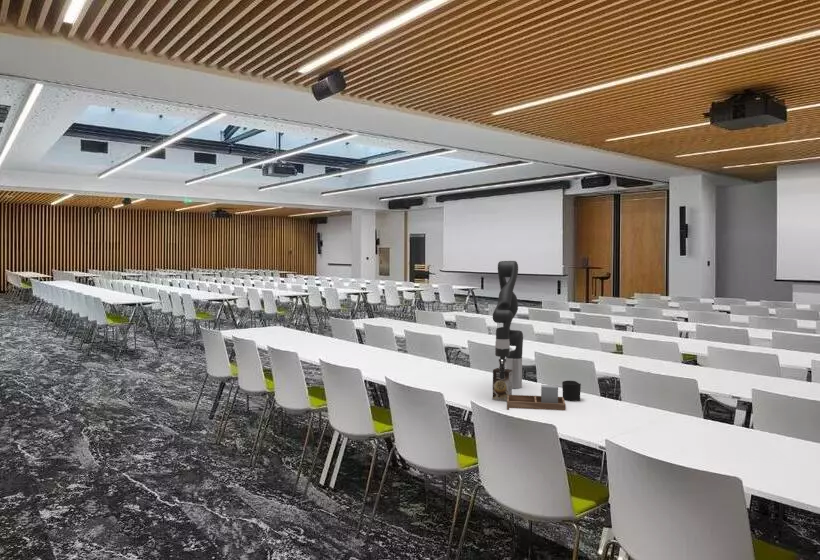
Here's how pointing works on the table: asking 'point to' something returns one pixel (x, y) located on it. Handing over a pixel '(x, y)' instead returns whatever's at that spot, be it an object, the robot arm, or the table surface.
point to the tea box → (549, 394)
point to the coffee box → (502, 384)
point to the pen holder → (571, 391)
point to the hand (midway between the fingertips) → (502, 377)
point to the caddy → (533, 403)
